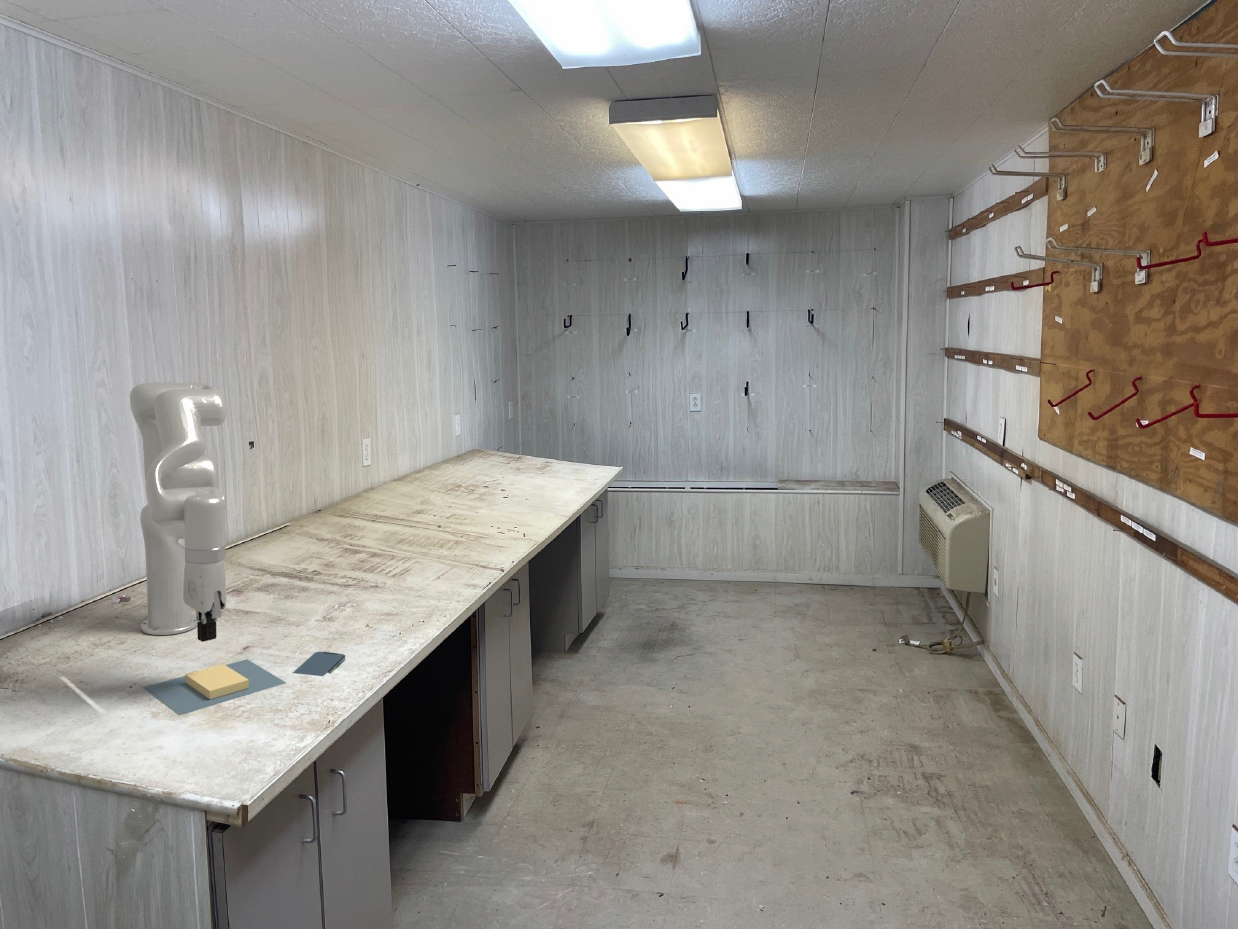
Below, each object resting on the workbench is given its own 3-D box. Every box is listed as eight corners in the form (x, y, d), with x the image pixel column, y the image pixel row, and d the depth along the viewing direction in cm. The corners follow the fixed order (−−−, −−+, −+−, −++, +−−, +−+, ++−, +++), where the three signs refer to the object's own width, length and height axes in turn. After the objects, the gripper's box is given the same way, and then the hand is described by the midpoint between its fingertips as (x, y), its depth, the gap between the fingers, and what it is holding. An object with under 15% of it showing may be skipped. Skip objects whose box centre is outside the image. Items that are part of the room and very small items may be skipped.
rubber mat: (142, 691, 174) (142, 687, 174) (247, 662, 191) (247, 659, 190) (179, 719, 163) (179, 715, 163) (286, 686, 180) (286, 682, 180)
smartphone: (283, 678, 182) (315, 650, 196) (284, 686, 182) (315, 657, 197) (317, 682, 181) (347, 653, 196) (318, 689, 181) (347, 660, 196)
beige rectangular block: (185, 674, 176) (209, 691, 170) (223, 664, 183) (248, 679, 176) (185, 683, 177) (210, 700, 170) (223, 672, 183) (248, 688, 176)
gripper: (170, 549, 176) (172, 634, 179) (203, 565, 167) (205, 654, 170) (207, 544, 182) (208, 625, 185) (240, 559, 173) (242, 644, 176)
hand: (207, 639), depth 177 cm, fingers closed
